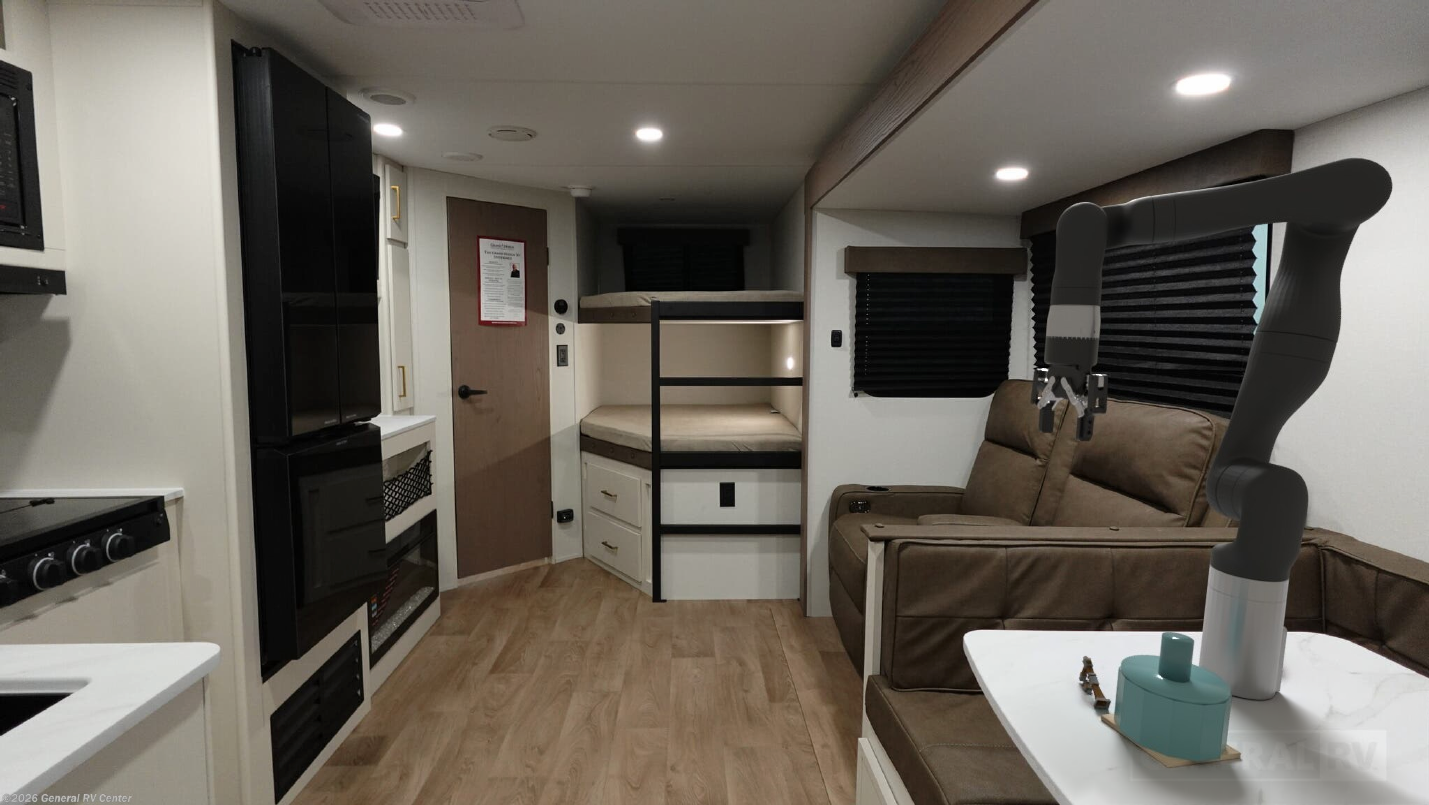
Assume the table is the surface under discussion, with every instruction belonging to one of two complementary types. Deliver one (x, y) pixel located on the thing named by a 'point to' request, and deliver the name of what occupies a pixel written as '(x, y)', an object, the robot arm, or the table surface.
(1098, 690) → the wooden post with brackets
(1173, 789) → the table surface
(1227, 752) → the board
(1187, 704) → the teal lid with knob
